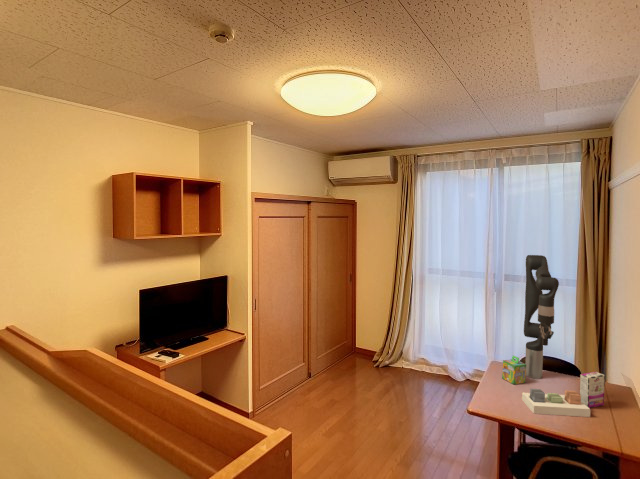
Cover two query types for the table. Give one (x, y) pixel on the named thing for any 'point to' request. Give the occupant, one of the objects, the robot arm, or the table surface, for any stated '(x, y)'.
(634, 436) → the table surface
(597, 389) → the candy bar box
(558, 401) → the sage block
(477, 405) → the table surface
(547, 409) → the board
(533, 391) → the slate block
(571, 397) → the terracotta block
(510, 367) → the chalk box
